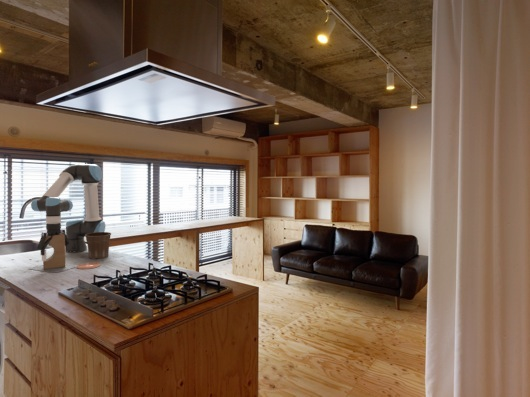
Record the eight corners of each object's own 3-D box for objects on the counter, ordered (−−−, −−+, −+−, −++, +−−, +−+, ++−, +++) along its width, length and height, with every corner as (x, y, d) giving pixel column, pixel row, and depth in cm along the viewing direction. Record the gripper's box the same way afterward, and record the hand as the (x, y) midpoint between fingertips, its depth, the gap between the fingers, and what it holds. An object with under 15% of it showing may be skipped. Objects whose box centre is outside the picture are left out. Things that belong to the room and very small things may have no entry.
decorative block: (43, 269, 195) (42, 236, 193) (43, 267, 199) (42, 234, 198) (65, 267, 201) (64, 234, 200) (64, 264, 206) (63, 233, 204)
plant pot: (97, 260, 218) (97, 236, 217) (79, 258, 224) (79, 234, 223) (116, 255, 234) (116, 233, 233) (99, 253, 239) (99, 231, 238)
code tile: (53, 262, 211) (53, 262, 211) (79, 266, 204) (79, 265, 204) (28, 269, 196) (28, 268, 196) (56, 273, 189) (56, 272, 189)
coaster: (88, 262, 213) (88, 261, 213) (104, 264, 209) (104, 263, 209) (71, 267, 201) (71, 266, 201) (88, 270, 197) (88, 269, 197)
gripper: (66, 220, 211) (67, 253, 212) (29, 225, 188) (29, 262, 189) (75, 221, 209) (76, 254, 210) (38, 225, 186) (39, 263, 187)
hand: (54, 258), depth 200 cm, fingers open, 12 cm apart
